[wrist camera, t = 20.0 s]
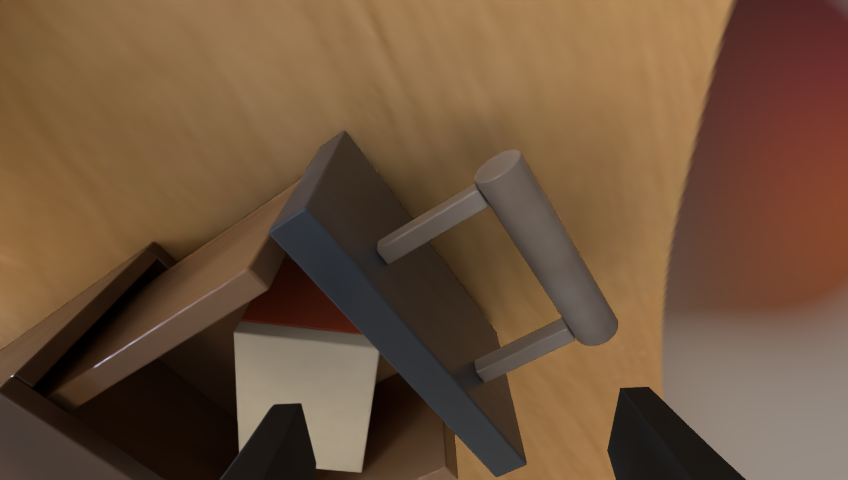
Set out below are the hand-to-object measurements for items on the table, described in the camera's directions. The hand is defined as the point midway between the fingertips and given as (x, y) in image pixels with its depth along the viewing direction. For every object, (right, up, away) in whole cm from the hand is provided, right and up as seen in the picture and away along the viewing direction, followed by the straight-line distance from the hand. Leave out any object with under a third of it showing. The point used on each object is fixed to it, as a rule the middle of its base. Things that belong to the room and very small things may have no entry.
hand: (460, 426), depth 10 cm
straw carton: (-5, +1, +9) cm, 10 cm away
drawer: (-4, +2, +9) cm, 10 cm away
